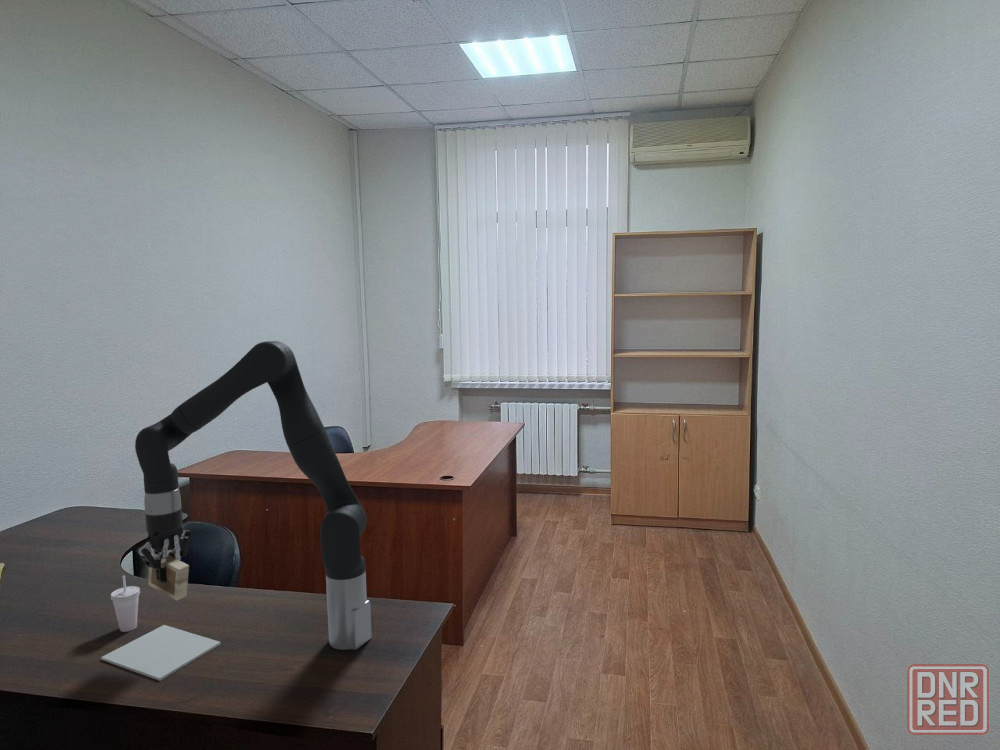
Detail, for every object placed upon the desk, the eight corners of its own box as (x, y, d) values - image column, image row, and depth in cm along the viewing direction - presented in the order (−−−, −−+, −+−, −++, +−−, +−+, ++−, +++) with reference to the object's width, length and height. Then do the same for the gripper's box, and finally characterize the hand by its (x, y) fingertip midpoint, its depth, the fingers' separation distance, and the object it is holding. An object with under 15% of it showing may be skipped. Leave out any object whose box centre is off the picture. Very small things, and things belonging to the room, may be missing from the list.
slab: (186, 596, 148) (189, 565, 147) (176, 600, 146) (179, 569, 144) (157, 580, 152) (160, 550, 151) (147, 585, 150) (149, 554, 148)
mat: (220, 644, 150) (220, 641, 150) (160, 680, 136) (159, 678, 136) (164, 627, 159) (164, 624, 159) (101, 659, 145) (101, 657, 144)
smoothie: (112, 637, 154) (107, 582, 153) (114, 625, 160) (110, 572, 158) (142, 630, 157) (138, 577, 156) (143, 619, 163) (139, 567, 161)
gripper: (146, 520, 139) (152, 594, 140) (200, 501, 151) (204, 570, 153) (124, 515, 142) (130, 588, 144) (178, 497, 154) (183, 565, 156)
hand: (168, 578), depth 148 cm, fingers closed on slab, 2 cm apart
